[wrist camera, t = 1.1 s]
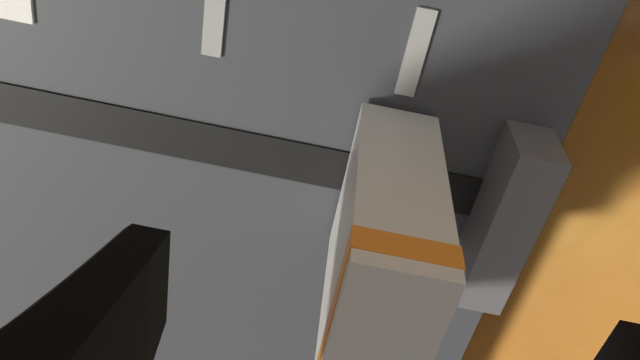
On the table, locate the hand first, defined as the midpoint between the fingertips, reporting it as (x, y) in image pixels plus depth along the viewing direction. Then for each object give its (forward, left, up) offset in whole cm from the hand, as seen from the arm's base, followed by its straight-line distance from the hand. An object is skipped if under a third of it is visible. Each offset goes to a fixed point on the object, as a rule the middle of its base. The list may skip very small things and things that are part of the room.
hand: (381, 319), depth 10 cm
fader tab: (0, 0, -4) cm, 4 cm away
